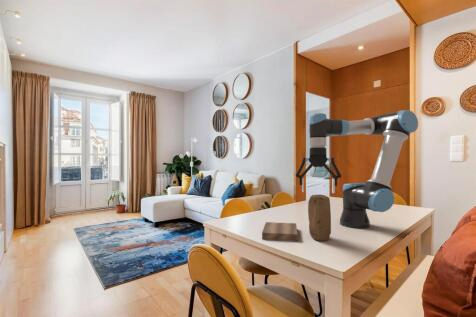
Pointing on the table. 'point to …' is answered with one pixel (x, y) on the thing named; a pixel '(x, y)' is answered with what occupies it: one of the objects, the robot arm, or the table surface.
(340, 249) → the table surface
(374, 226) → the table surface
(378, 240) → the table surface
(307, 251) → the table surface
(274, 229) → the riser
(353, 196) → the robot arm
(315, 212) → the block
